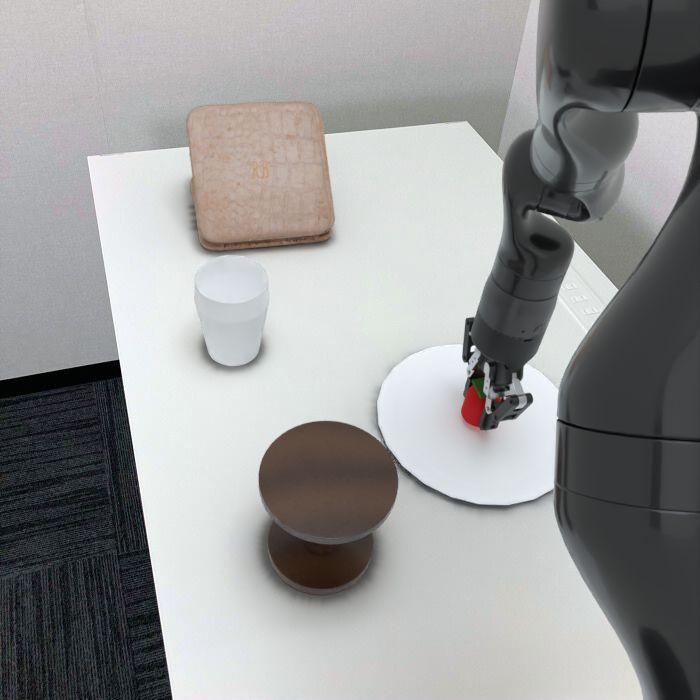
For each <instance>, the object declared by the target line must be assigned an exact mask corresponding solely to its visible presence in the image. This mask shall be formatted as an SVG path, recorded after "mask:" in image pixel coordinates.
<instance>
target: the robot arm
mask: <svg viewBox="0 0 700 700" xmlns="http://www.w3.org/2000/svg"><path fill="white" fill-rule="evenodd" d="M537 14H538V15H537V26H536V27H537V29H536V30H537V31H536V47H535V49H536V50H535V97H536V98H535V99H536V108H537V120H536V124H535V126H534V128H528V129H527V130H525V131H522V132H521V133H520V134H518V135H517V136H516V137H515V138H514V139H513V140H512V141H511V142H510V145H509V146H508V147H507V150H506V152H505V155H504V158H503V163H502V167H501V168H502V169H501V193H502V206H503V207H502V211H503V213H502V214H503V219H502V220H503V221H502V232H501V237H500V240H499V244H498V248H497V252H496V255H495V258H494V261H493V265H492V268H491V271H490V273H489V275H488V276H487V279H486V281H485V282H484V286H483V289H482V293H481V296H480V299H479V303H478V306H477V309H476V314H475V315H474V316H470V317H466V318H465V322H464V331H463V343H462V345H463V352H462V359H463V362H464V363H468V367H467V375H468V378H467V381H466V384H465V389H464V392H463V396H464V398H465V396H466V393H467V391H468V389H469V388H470V387H471V386H472V385H473V383H472V379H478V378H484V377H485V381H484V389H483V392H484V394H485V395H486V403H485V407H484V408H483V411H482V414H481V417H480V420H479V423H478V426H479V428H480V430H485V431H486V430H492V429H496V428H497V427H498V424H499V422H501V421H506V420H514V419H516V418H517V417H518V416H519V415H520V414H522V413H523V412H524V411H525V410H526V409H527V408H528V407H529V406H530V405H531V404H532V403H533V396H532V394H531V393H524V391H523V388H522V386H521V383H520V381H521V380H522V378H523V369H524V365H525V364H526V363H527V364H528V363H529V362H530V361H531V360H532V359H533V358H534V357H535V356H536V354H537V353H538V351H539V349H540V346H541V344H542V341H543V340H544V336H545V334H546V332H547V329H548V327H549V325H550V321H551V319H552V317H553V315H554V314H553V313H554V311H555V309H556V306H557V302H558V299H559V293H560V290H561V287H562V284H563V282H564V280H565V277H566V276H567V275H566V274H567V272H568V270H569V268H570V266H571V262H572V260H573V258H574V253H575V246H576V245H575V240H574V238H573V236H572V234H571V233H570V231H569V230H568V229H567V228H565V227H564V226H563V225H562V224H560V223H558V222H556V221H555V220H554V219H551V218H550V217H548V216H552V217H555V218H559V219H563V220H566V221H570V222H574V223H579V224H594V223H598V222H601V221H602V220H604V219H605V218H606V217H608V216H609V214H611V213H612V211H613V210H614V208H615V207H616V205H617V204H618V202H619V200H620V197H621V195H622V191H623V188H624V183H625V177H626V163H625V161H626V160H627V159H628V157H629V155H630V154H631V152H632V151H633V150H634V149H633V148H634V147H635V144H636V142H637V139H638V135H639V126H640V116H639V114H643V113H645V114H650V113H651V114H652V113H655V114H656V113H658V114H659V113H686V112H688V113H689V112H693V113H695V116H696V130H695V138H694V144H693V152H692V155H691V158H690V162H689V166H688V170H687V173H686V177H685V179H684V182H683V183H682V187H681V190H680V192H679V194H678V197H677V199H676V201H675V203H674V205H673V207H672V209H671V211H670V213H669V215H668V216H667V218H666V220H665V221H664V223H663V225H662V227H661V229H660V230H659V232H658V233H657V235H656V237H655V238H654V240H653V241H652V243H651V245H650V247H649V248H648V249H647V251H646V252H645V254H644V255H643V257H642V258H641V260H640V261H639V262H638V264H637V265H636V267H635V268H634V269H633V271H632V272H631V273H630V275H629V276H628V277H627V278H626V280H624V283H623V284H622V285H621V286H620V287H619V289H618V290H617V291H616V293H615V294H614V296H613V297H612V298H611V300H609V302H608V304H607V305H606V306H605V307H604V309H603V311H601V313H600V314H599V316H598V317H597V318H596V320H595V321H594V323H593V324H592V326H591V327H589V330H588V331H587V333H586V334H585V335H584V337H583V338H582V340H581V341H580V343H579V344H578V346H577V347H576V349H575V351H574V352H573V354H572V356H571V358H570V359H569V362H568V363H567V365H566V368H565V370H564V372H563V375H562V378H561V380H560V383H559V388H558V390H559V392H558V403H557V417H558V419H557V420H556V442H555V465H554V488H553V490H552V491H553V493H552V494H553V499H552V503H553V510H554V516H555V521H556V523H557V528H558V530H559V533H560V536H561V538H562V541H563V543H564V545H565V548H566V550H567V553H568V554H569V556H570V558H571V559H572V562H573V564H574V566H575V567H576V569H577V571H578V573H579V575H580V576H581V578H582V580H583V582H584V584H585V586H586V587H587V588H588V590H589V592H590V594H591V596H592V597H593V599H594V600H595V602H596V603H597V605H598V607H599V608H600V610H601V612H602V613H603V615H604V616H605V618H606V619H607V622H608V623H609V625H610V626H611V628H612V629H613V632H614V633H615V634H616V636H617V638H618V640H619V641H620V644H621V645H622V647H623V649H624V651H625V653H626V655H627V657H628V658H629V661H630V664H631V666H632V668H633V670H634V673H635V675H636V678H637V680H638V684H639V686H640V690H641V691H640V692H641V696H642V700H700V0H539V4H538V13H537ZM474 345H475V347H476V348H475V349H474V351H473V352H471V347H472V346H474ZM493 386H495V387H493ZM500 397H501V401H498V402H495V399H496V398H500Z"/></svg>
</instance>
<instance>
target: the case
mask: <svg viewBox="0 0 700 700" xmlns="http://www.w3.org/2000/svg"><path fill="white" fill-rule="evenodd" d="M323 120H324V119H323V115H322V112H321V111H320V109H319V107H318V106H317V105H316V104H314V103H313V102H310V101H307V100H305V101H303V100H296V101H295V100H294V101H293V100H292V101H251V102H250V101H249V102H237V103H223V104H203V105H198V106H196V107H193V108H192V109H190V111H189V112H188V113H187V115H186V120H185V124H186V126H185V127H186V134H187V141H188V142H187V143H188V150H189V151H188V153H189V160H190V167H191V175H192V177H191V178H190V180H189V186H190V191H191V195H192V201H193V205H194V206H193V207H194V212H195V219H196V226H197V227H196V228H197V233H198V239H199V243H200V244H201V246H202V247H203V248H204V249H206V250H209V251H213V252H220V251H232V250H243V249H254V248H265V247H274V246H286V245H287V246H288V245H296V244H310V243H311V244H312V243H320V242H325V241H327V240H329V238H330V237H331V236H332V234H333V229H332V228H333V227H334V225H335V220H336V215H335V207H334V199H333V193H332V186H331V178H330V169H329V161H328V160H329V159H328V153H327V144H326V137H325V129H324V121H323Z"/></svg>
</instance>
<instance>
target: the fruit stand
mask: <svg viewBox="0 0 700 700" xmlns="http://www.w3.org/2000/svg"><path fill="white" fill-rule="evenodd" d="M388 450H389V449H388V448H386V446H384V444H383V443H382V442H381V441H380V440H379V439H378V438H376V437H375V436H374V435H373V434H371V433H370V432H368V431H366V430H364V429H362V428H360V427H358V426H356V425H354V424H350V423H347V422H343V421H336V420H315V421H310V422H305V423H302V424H299V425H296V426H294V427H291V428H290V429H288V430H286V431H284V432H283V433H281V434H280V435H278V436H277V437H276V438H275V439H274V440H273V441H272V442H271V444H269V446H268V447H267V449H266V450H265V452H264V454H263V456H262V459H261V461H260V464H259V469H258V493H259V497H260V500H261V503H262V504H263V507H264V509H265V511H266V512H267V514H268V515H269V517H270V518H271V519H272V522H271V524H270V526H269V530H268V534H267V553H268V559H269V562H270V564H271V566H272V568H273V570H274V571H275V573H276V574H277V576H278V577H279V578H280V579H281V580H282V581H283V582H285V583H286V584H287V585H288V586H290V587H292V588H293V589H295V590H297V591H299V592H302V593H305V594H309V595H317V596H318V595H319V596H327V595H333V594H336V593H339V592H342V591H344V590H347V589H349V588H350V587H353V585H355V584H356V583H357V582H358V581H359V580H360V579H361V578H362V577H363V576H364V574H365V573H366V571H367V569H368V568H369V566H370V563H371V560H372V556H373V549H374V537H373V533H374V531H376V530H377V529H379V528H380V527H381V526H382V525H383V524H384V523H385V522H386V520H387V519H388V517H389V516H390V514H391V512H392V511H393V509H394V507H395V503H396V500H397V496H398V491H399V475H398V474H399V473H398V470H397V469H398V468H397V466H396V463H395V461H394V459H393V457H392V455H391V452H390V451H388Z"/></svg>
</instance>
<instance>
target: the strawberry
mask: <svg viewBox="0 0 700 700" xmlns="http://www.w3.org/2000/svg"><path fill="white" fill-rule="evenodd" d="M484 381H485V377H484V378H478V379H472V383H473V385H472V386H471V387H470V388H469V389H468V391H467V393H466V396H465V399H464V402H463V405H462V408H461V414H462V417H463V419H464V420H465V421H466V422H467V423H469V424H470V425H472V426H475V427H479V426H478V423H479V420H480V417H481V414H482V411H483V408H484V407H485V403H486V395H485V394H484V392H483V389H484ZM493 387H495V386H493ZM498 401H501V397H500V398H496V399H495V402H498Z"/></svg>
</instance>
